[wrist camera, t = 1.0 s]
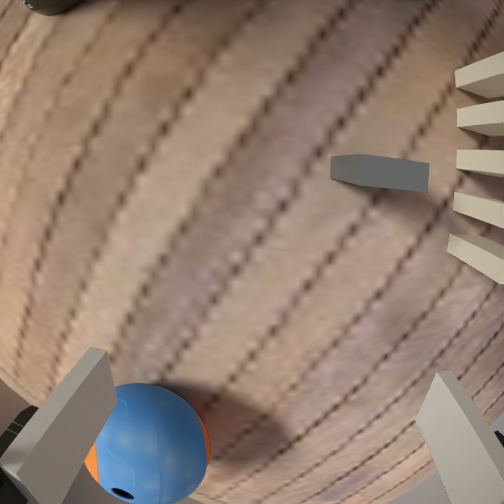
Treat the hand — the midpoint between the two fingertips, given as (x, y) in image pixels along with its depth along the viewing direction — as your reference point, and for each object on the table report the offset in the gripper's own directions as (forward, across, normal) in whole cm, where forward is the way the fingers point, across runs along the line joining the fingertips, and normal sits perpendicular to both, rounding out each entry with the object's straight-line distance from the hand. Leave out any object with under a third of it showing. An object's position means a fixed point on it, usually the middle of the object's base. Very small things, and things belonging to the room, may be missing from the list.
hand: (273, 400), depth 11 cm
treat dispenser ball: (+21, -13, -22) cm, 33 cm away
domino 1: (+21, +7, +9) cm, 23 cm away
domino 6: (+21, +22, +3) cm, 30 cm away
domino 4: (+21, +21, +12) cm, 32 cm away
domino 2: (+21, +21, +21) cm, 36 cm away
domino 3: (+21, +21, +16) cm, 34 cm away
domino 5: (+21, +21, +7) cm, 31 cm away
